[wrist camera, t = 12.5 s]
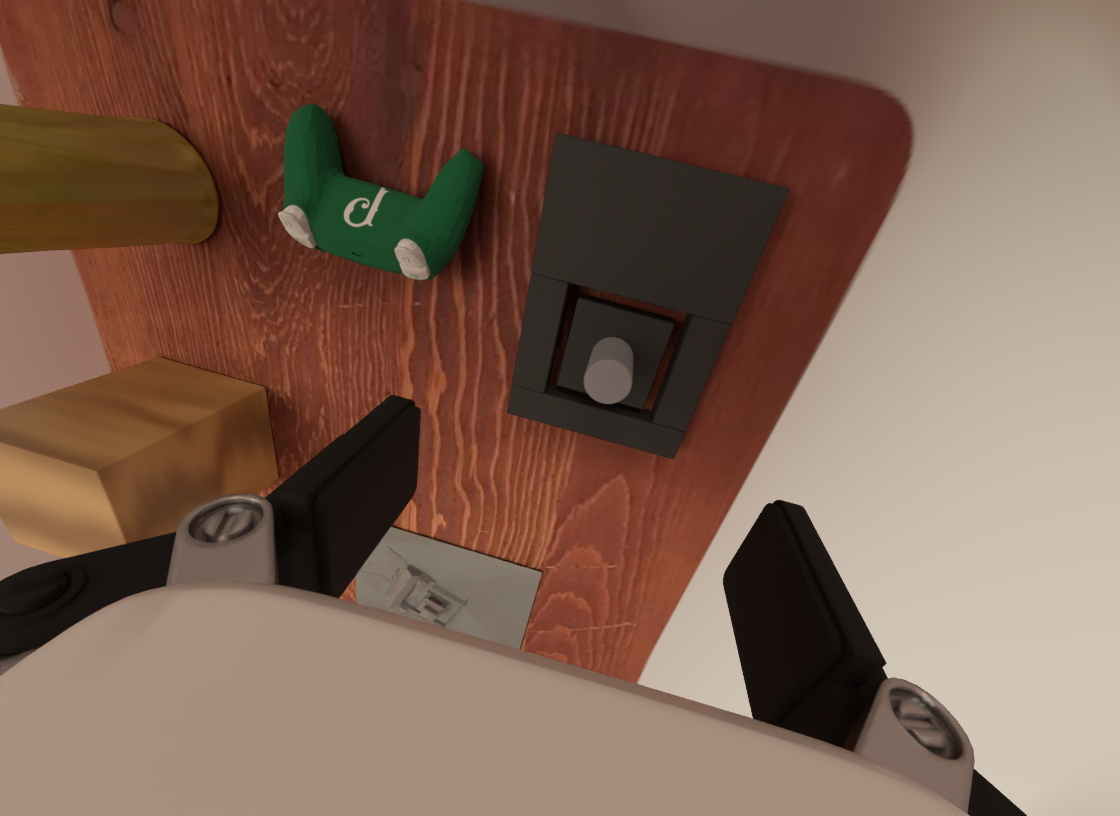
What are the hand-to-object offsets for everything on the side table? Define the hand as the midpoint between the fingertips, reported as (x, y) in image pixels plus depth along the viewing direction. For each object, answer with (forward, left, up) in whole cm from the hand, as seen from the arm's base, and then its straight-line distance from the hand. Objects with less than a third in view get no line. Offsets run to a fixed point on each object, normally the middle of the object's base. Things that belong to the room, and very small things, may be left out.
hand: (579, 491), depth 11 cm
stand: (+13, -26, -13) cm, 32 cm away
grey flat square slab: (+27, -13, -13) cm, 33 cm away
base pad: (-2, 0, -13) cm, 13 cm away
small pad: (0, 0, -13) cm, 13 cm away
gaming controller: (-4, -13, -13) cm, 19 cm away
